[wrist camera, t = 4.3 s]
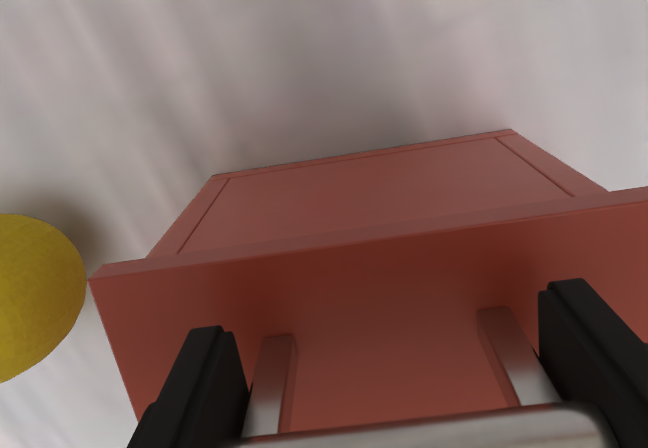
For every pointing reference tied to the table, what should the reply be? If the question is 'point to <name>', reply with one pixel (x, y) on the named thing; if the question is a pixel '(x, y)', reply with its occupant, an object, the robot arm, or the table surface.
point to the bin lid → (390, 324)
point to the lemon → (35, 291)
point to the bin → (371, 191)
